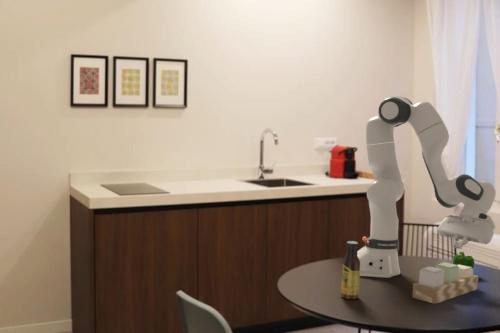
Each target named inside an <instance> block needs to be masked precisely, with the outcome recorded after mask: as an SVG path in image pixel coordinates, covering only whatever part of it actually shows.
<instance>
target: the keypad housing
mask: <svg viewBox="0 0 500 333" xmlns="http://www.w3.org/2000/svg"><path fill="white" fill-rule="evenodd" d="M478 285H479V276H478V275H475V274H473V276H472V277H469V278H466V279H463V278H459V280H458V281H456V282H453V283H446V282H444V284H443V286H440V287H437V288H431V287H427V286H424V285H420V284H419V281H418V282H415V283H413V284H412V298H413V299H415V300H420V301H422V302H423V301H424V302H426V303H429V304H430V303H431V304H434V305H436V304H439V303H442V302H444V301H447V300H450V299H453V298H456V297H459V296H462V295H464V294H468V293H470V292H473V291H476V290H478V289H479V288H478Z"/></svg>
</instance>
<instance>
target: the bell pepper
mask: <svg viewBox="0 0 500 333" xmlns="http://www.w3.org/2000/svg"><path fill="white" fill-rule="evenodd" d="M452 264H455V265H464V266H468V267H472V269H473V270H474V267H475V259H474V258H473V255H472V256H471V255H465V251H460V252H458V254H454V256H453V258H452Z"/></svg>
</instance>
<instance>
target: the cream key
mask: <svg viewBox="0 0 500 333" xmlns="http://www.w3.org/2000/svg"><path fill="white" fill-rule="evenodd" d="M458 267H459V278H463V279H466V278H469V277H472V276H473V275H474V268H473V269H472V267H468V266H464V265H458Z"/></svg>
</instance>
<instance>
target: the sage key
mask: <svg viewBox="0 0 500 333" xmlns="http://www.w3.org/2000/svg"><path fill="white" fill-rule="evenodd" d="M434 268H439V269H443V271H444V282H446V283H453V282H456V281H458V280H459V267H458V265H455V264H453V263H449V262H441V263H437V264H436V265H435V267H434Z"/></svg>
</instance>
